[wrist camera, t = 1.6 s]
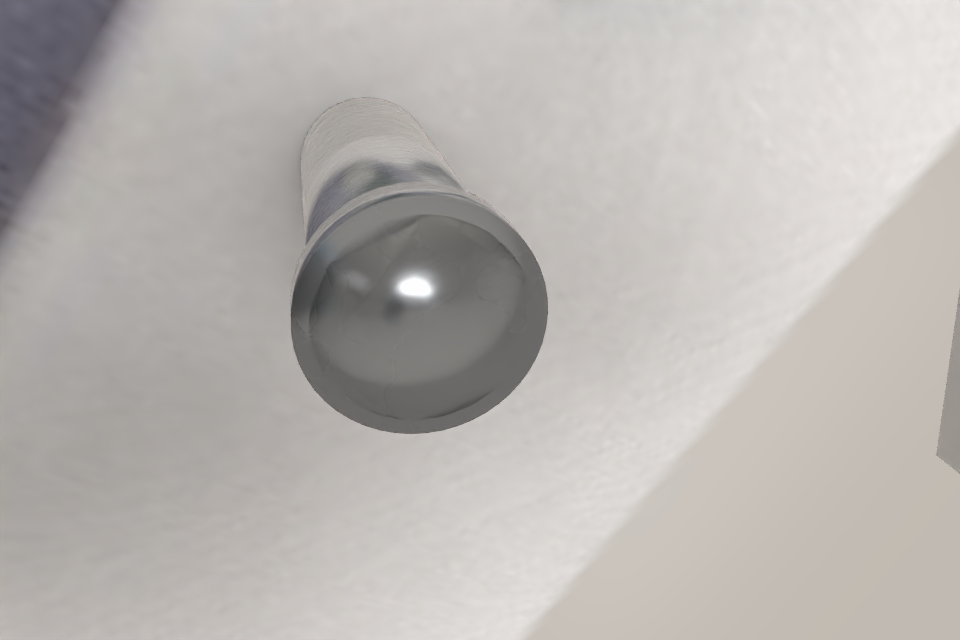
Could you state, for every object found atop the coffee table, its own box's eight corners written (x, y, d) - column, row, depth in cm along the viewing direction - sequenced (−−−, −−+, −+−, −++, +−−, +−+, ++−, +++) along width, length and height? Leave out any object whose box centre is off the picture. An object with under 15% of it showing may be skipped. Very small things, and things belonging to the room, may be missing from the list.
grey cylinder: (308, 246, 26) (321, 457, 15) (275, 100, 24) (262, 224, 13) (450, 220, 27) (557, 404, 16) (428, 75, 25) (535, 174, 14)
